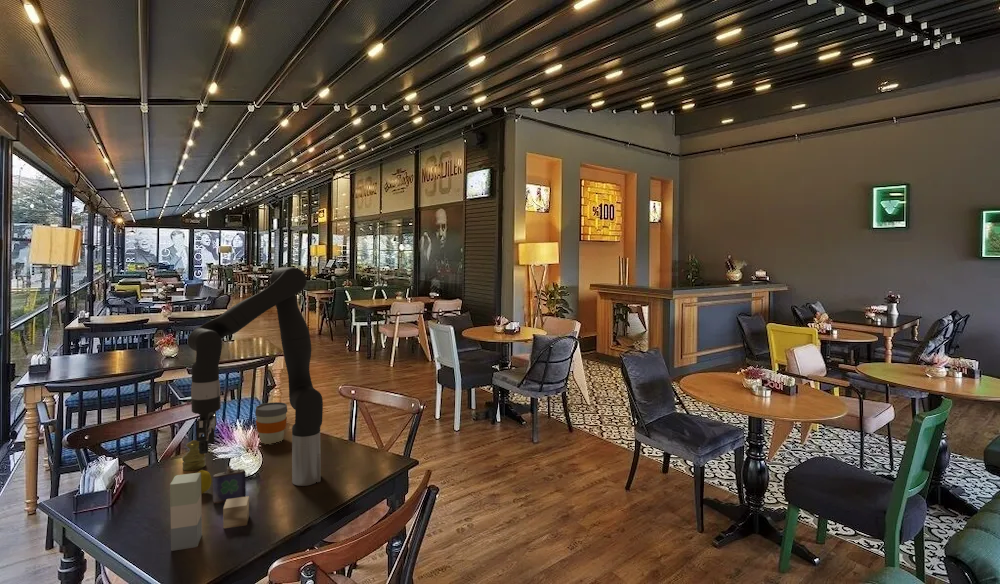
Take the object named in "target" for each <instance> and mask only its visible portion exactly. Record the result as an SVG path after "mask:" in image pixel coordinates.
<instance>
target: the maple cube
mask: <svg viewBox="0 0 1000 584" xmlns="http://www.w3.org/2000/svg"><path fill="white" fill-rule="evenodd" d="M222 514H223V518H222V520H223V521H222V523H223V526H222V527H223V529H229V528H231V529H232V528H236V527H242V526H243V527H244V526H248V522H249V518H250V496H249V495H248V496H247V495H246V496H245V497H239V498H232V499H226V502H224V505H223V508H222Z"/></svg>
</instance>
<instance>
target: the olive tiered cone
mask: <svg viewBox="0 0 1000 584" xmlns="http://www.w3.org/2000/svg"><path fill="white" fill-rule="evenodd" d="M185 447H187V448H188V449H189V450H188V452H186V454H184V455H182V457H181V458H182V464H181V465H182V469H183V470H184V471H187V472H189V471H190V472H192V471H197V470H200V469H201V470H202V469H203V468H204V467H205V466H206V463H207V462H206V460H207V459H206V457H207V453H205V454H200V453H199V442H198V441H196V439H192V440H191V441H189V442H187V443H185Z"/></svg>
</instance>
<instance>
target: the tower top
mask: <svg viewBox="0 0 1000 584" xmlns="http://www.w3.org/2000/svg"><path fill="white" fill-rule="evenodd" d="M169 488H170V489H169V497H170V498H169V499H170V501H169V502H170V505H169V506H170V507H173V506H181V505H188V504H196V503H197V502H198V500H199V497H200V495H201V496H202V494H201V473H197V472H195V473H185V474H176V475H175V476H174V477H173V479H172V481H171V482H170V483H169Z"/></svg>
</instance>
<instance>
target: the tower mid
mask: <svg viewBox="0 0 1000 584" xmlns="http://www.w3.org/2000/svg"><path fill="white" fill-rule="evenodd" d="M202 510H203V509H202V494H201V495H200V497H199V500H198V502H197V503H196V504H188V505H181V506H173V507H170V530H171V529H174V528H181V527H188V526H195V525H197V524H198V522H199V519H200V517H201V515H202V516H203V514H202V513H203V511H202Z"/></svg>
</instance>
